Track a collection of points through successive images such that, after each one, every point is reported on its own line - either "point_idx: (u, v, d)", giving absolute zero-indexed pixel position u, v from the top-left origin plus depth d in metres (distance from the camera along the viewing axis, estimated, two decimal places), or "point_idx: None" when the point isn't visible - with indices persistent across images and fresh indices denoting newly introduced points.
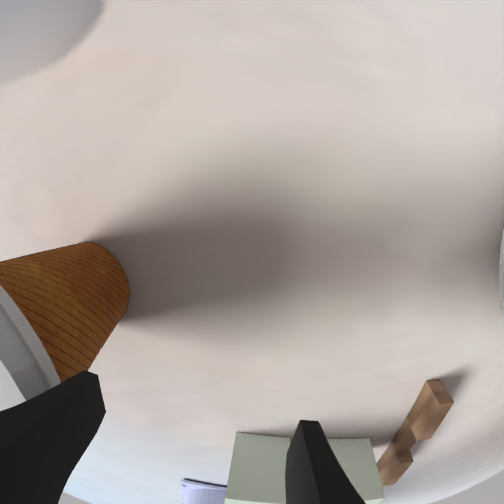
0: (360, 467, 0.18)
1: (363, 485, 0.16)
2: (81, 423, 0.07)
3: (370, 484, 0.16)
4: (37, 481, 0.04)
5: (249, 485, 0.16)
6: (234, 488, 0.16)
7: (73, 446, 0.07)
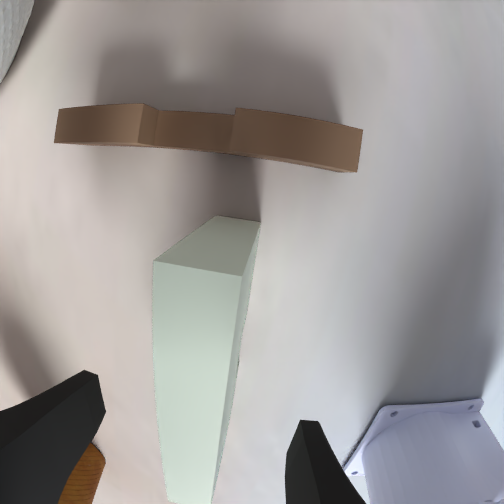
0: None
1: None
2: (81, 423, 0.07)
3: None
4: (37, 481, 0.04)
5: None
6: None
7: (73, 446, 0.07)
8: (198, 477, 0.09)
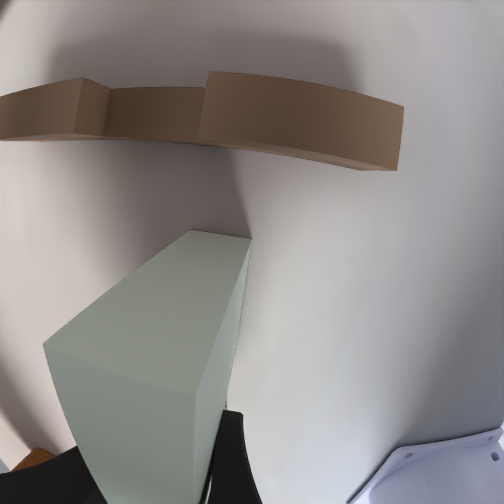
0: None
1: None
2: None
3: None
4: None
5: None
6: None
7: None
8: None
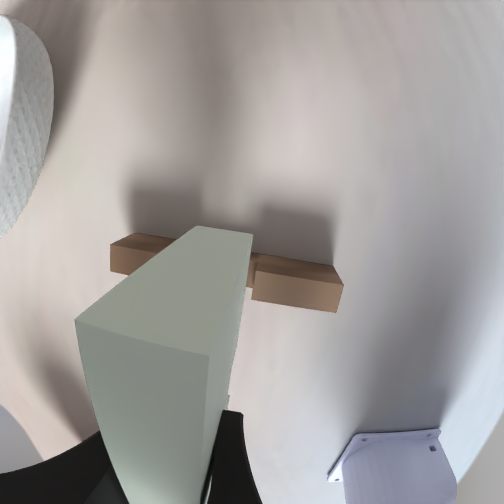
0: None
1: None
2: None
3: None
4: None
5: None
6: None
7: None
8: None
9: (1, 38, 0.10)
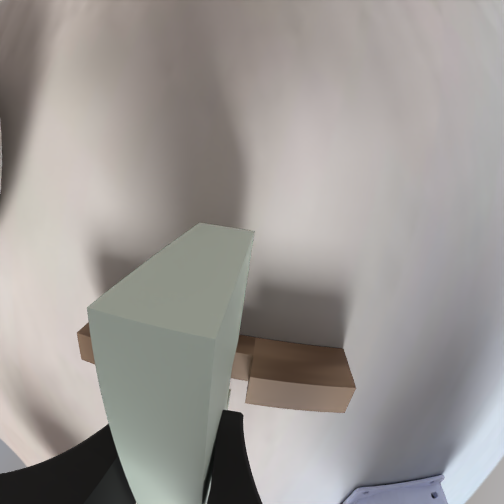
0: None
1: None
2: None
3: None
4: None
5: None
6: None
7: None
8: None
9: None
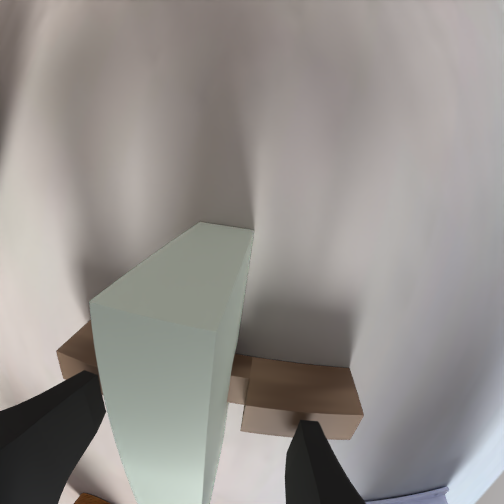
0: None
1: None
2: (81, 423, 0.07)
3: None
4: (37, 481, 0.04)
5: None
6: None
7: (73, 446, 0.07)
8: None
9: None
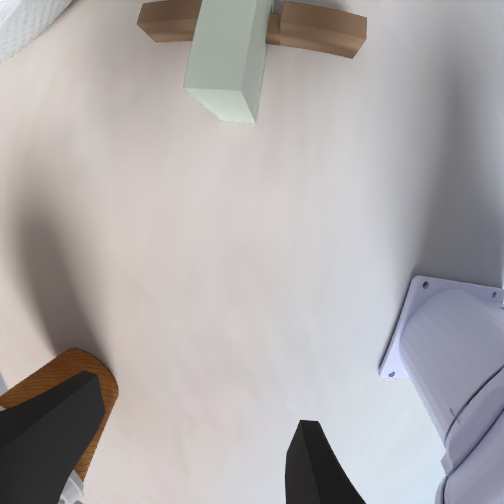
0: None
1: None
2: (81, 423, 0.07)
3: None
4: (37, 481, 0.04)
5: None
6: None
7: (73, 446, 0.07)
8: (239, 5, 0.08)
9: None
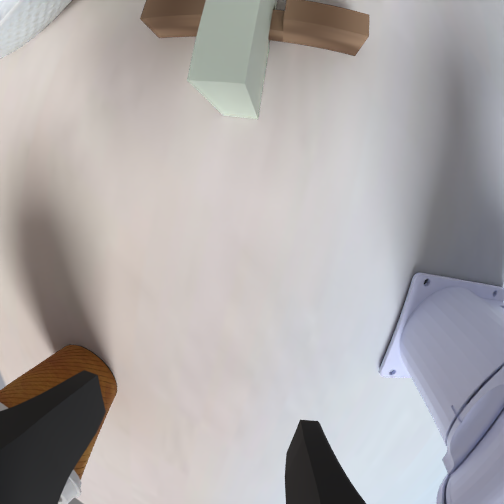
0: None
1: None
2: (81, 423, 0.07)
3: None
4: (37, 481, 0.04)
5: None
6: None
7: (73, 446, 0.07)
8: (243, 0, 0.08)
9: None
